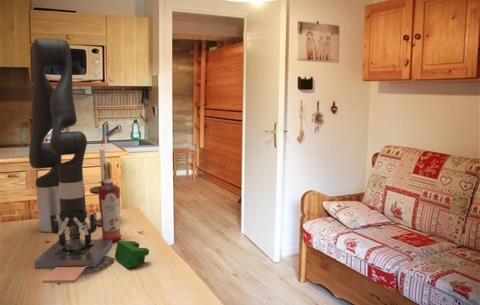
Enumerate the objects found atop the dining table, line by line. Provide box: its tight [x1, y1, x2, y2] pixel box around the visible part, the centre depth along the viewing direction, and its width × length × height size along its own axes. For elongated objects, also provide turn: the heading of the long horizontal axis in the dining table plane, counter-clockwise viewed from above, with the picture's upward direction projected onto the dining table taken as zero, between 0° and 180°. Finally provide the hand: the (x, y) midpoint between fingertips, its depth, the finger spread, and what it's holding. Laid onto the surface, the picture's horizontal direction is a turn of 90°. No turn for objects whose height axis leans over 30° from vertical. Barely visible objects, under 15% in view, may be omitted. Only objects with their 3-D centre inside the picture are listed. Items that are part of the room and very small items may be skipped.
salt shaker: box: [66, 226, 85, 255], centre depth 135 cm, size 6×6×12 cm
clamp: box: [114, 240, 150, 269], centre depth 132 cm, size 12×6×9 cm, turn 33°
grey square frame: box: [33, 238, 113, 270], centre depth 136 cm, size 18×18×2 cm
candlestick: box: [89, 137, 106, 228], centre depth 168 cm, size 11×11×35 cm
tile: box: [41, 267, 87, 283], centre depth 122 cm, size 9×9×1 cm
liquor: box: [97, 161, 122, 243], centre depth 149 cm, size 7×7×28 cm
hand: (75, 245), depth 136 cm, fingers open, 7 cm apart
